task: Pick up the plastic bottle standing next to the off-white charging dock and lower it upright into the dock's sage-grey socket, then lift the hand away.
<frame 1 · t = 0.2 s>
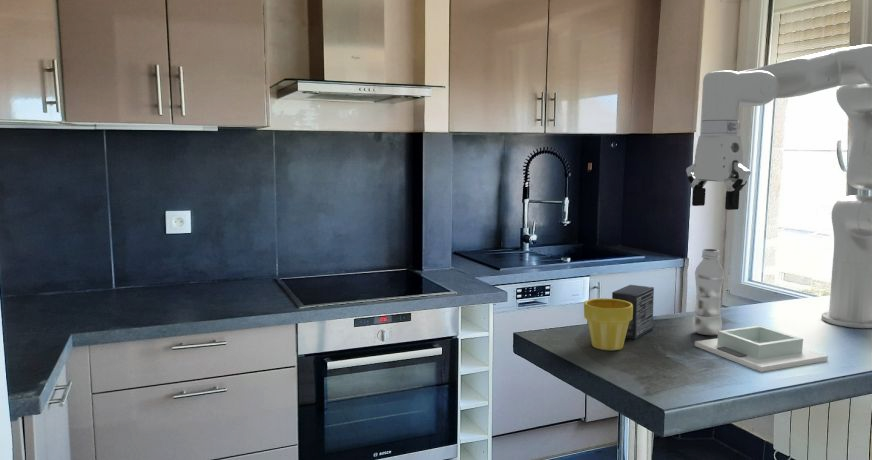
hand: (714, 207, 146), 30 cm above the breakfast bar, tool pointing down, fingers open, 9 cm apart
charging dock: (758, 353, 140), on the breakfast bar
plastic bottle: (706, 335, 154), on the breakfast bar
plant pot: (607, 347, 145), on the breakfast bar
small box: (631, 333, 156), on the breakfast bar
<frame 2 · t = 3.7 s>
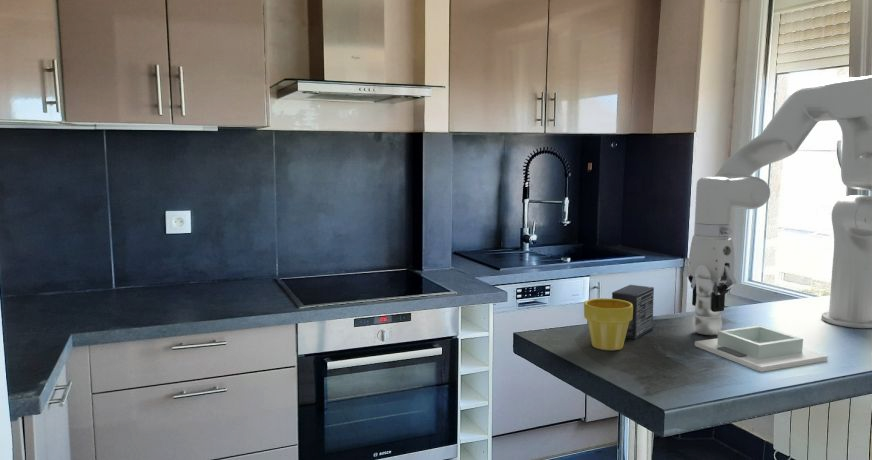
hand: (707, 307, 153), 6 cm above the breakfast bar, tool pointing down, fingers closed on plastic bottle, 5 cm apart
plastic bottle: (706, 335, 154), on the breakfast bar, touching gripper
everything else where it was.
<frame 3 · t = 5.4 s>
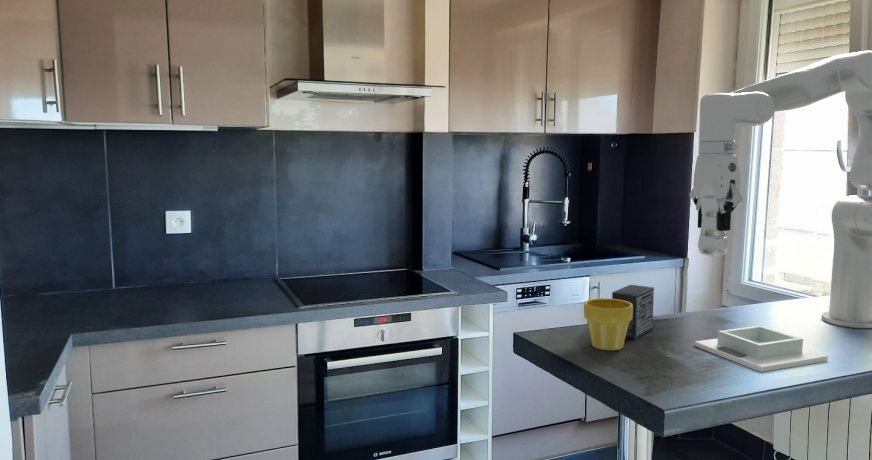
hand: (713, 228, 151), 25 cm above the breakfast bar, tool pointing down, fingers closed on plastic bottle, 5 cm apart
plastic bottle: (712, 256, 152), point 18 cm above the breakfast bar, touching gripper
everything else where it was.
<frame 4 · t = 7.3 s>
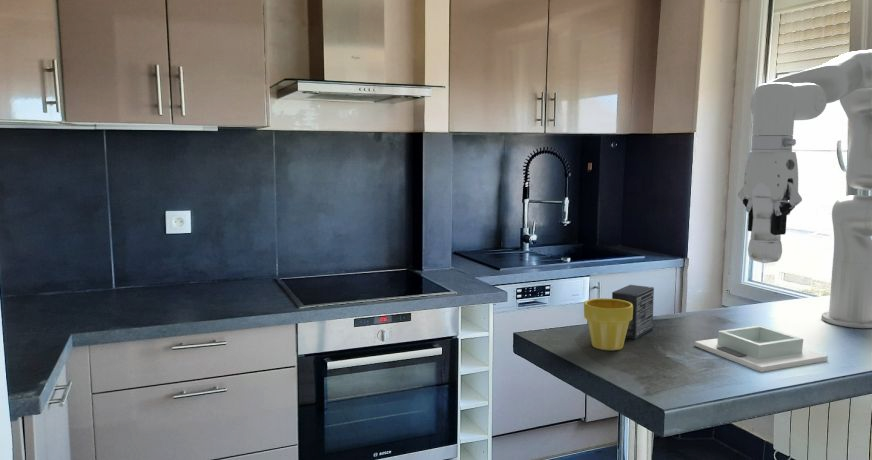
hand: (766, 231, 137), 26 cm above the breakfast bar, tool pointing down, fingers closed on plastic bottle, 5 cm apart
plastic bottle: (764, 263, 138), point 19 cm above the breakfast bar, touching gripper
everything else where it was.
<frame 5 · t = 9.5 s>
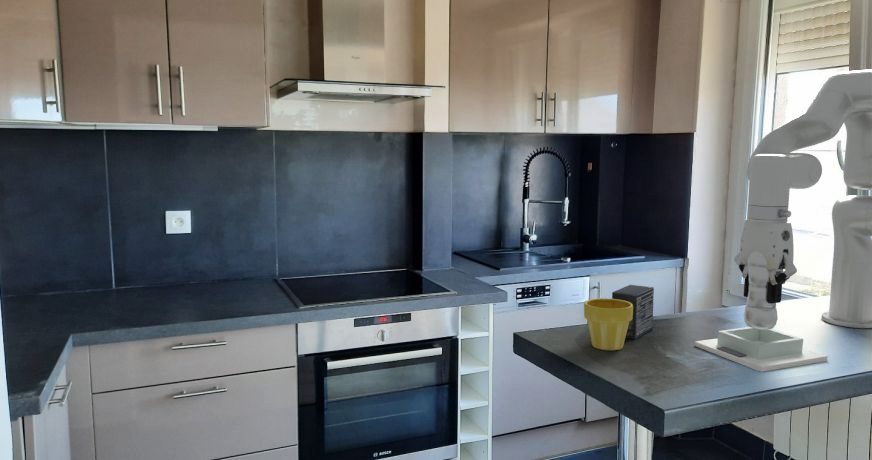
hand: (761, 298, 139), 12 cm above the breakfast bar, tool pointing down, fingers closed on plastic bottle, 5 cm apart
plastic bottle: (759, 329, 140), point 5 cm above the breakfast bar, touching gripper
everything else where it was.
when the fingers open (9 cm above the breakfast bar, at t = 11.1 s): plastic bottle drops 1 cm, resting on charging dock.
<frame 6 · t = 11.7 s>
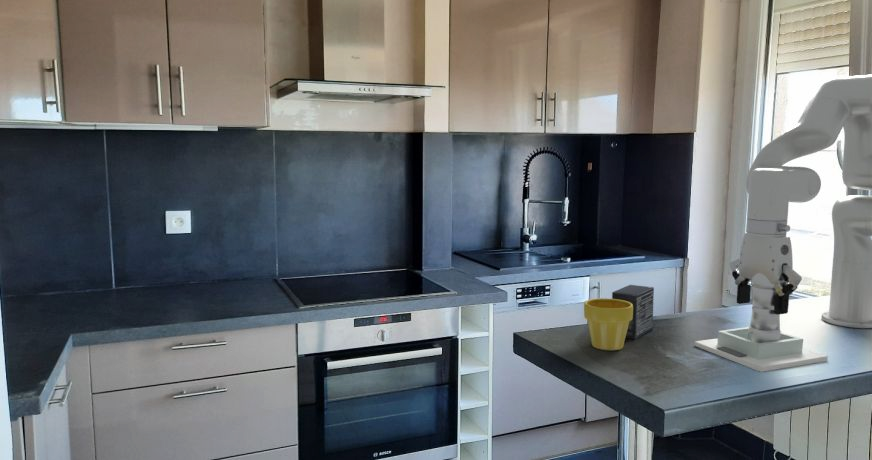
hand: (761, 308, 139), 10 cm above the breakfast bar, tool pointing down, fingers open, 9 cm apart
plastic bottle: (763, 350, 139), point 1 cm above the breakfast bar, touching charging dock
everything else where it was.
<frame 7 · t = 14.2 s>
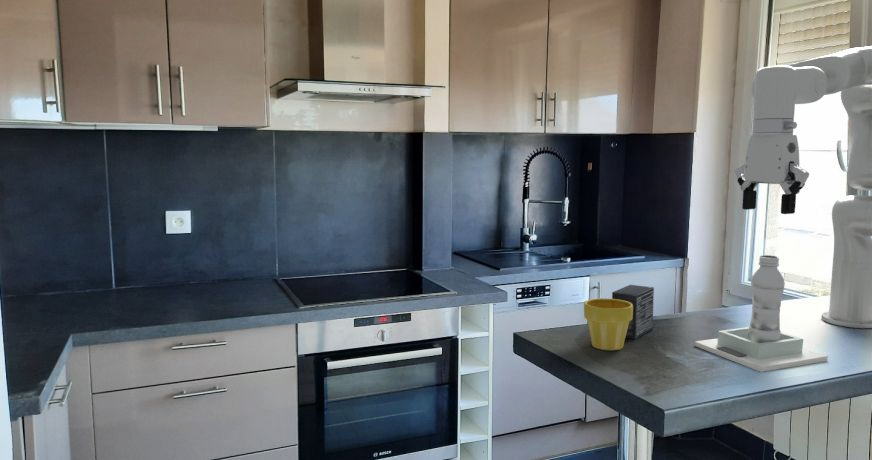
hand: (767, 211, 137), 30 cm above the breakfast bar, tool pointing down, fingers open, 9 cm apart
nothing on the breakfast bar moved.
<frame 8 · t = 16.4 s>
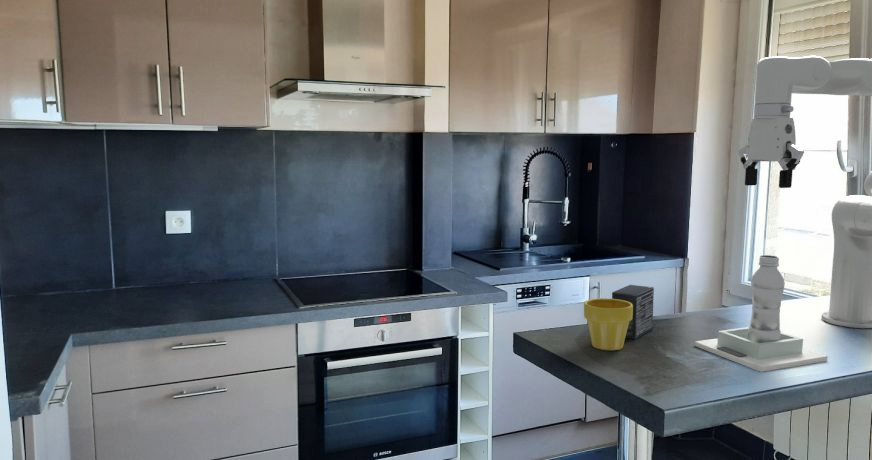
hand: (767, 186, 154), 34 cm above the breakfast bar, tool pointing down, fingers open, 9 cm apart
nothing on the breakfast bar moved.
at the end: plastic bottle 1.0 cm off-centre on the charging dock, point 0.8 cm above the charging dock's base; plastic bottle tilted 0°; the gripper is holding nothing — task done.
